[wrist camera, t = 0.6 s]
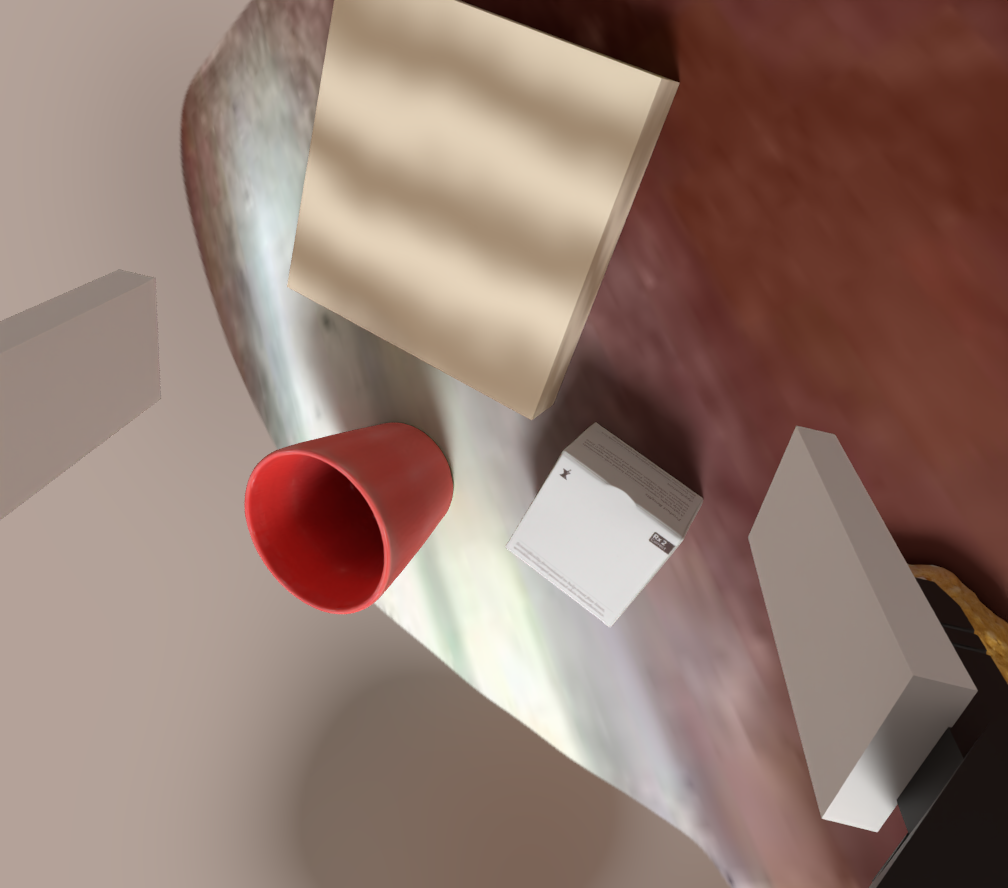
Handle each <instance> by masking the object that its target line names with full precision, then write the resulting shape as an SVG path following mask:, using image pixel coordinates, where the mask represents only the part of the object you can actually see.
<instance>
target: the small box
mask: <svg viewBox="0 0 1008 888" xmlns="http://www.w3.org/2000/svg"><path fill="white" fill-rule="evenodd" d="M702 502H703V498H702V497H700V496H699V495H698V494H696V493H695V492H693V491H692V490H691V489H689V488H688V487H686V486H685V485H684V484H682V483H681V482H679V481H678V480H677V479H675V478H674V477H672V476H671V475H670V474H668V473H667V472H665V471H664V470H662V469H661V468H660V467H658V466H657V465H655V464H654V463H653V462H651V461H650V460H648V459H647V458H646V457H644V456H643V455H641V454H640V453H639V452H637V451H636V450H634V449H633V448H632V447H630V446H629V445H627V444H626V443H624V442H623V441H622V440H620V439H619V438H617V437H616V436H615V435H613V434H612V433H610V432H609V431H608V430H606V429H605V428H603V427H602V426H600V425H599V424H598V423H596V422H595V423H594V424H592V425H591V426H590V427H589V428H588V429H586V430H585V431H584V432H583V433H582V434H581V435H580V436H579V437H578V438H577V439H576V440H574V441H573V442H572V443H571V444H570V445H569V446H568V447H566V448H565V449H564V450H563V451H562V453H561V455H560V456H559V458H558V460H557V462H556V463H555V465H554V466H553V468H552V470H551V471H550V473H549V475H548V477H547V478H546V480H545V482H544V483H543V485H542V487H541V488H540V490H539V492H538V493H537V495H536V497H535V498H534V500H533V502H532V503H531V505H530V506H529V508H528V510H527V512H526V513H525V515H524V517H523V518H522V520H521V522H520V523H519V525H518V527H517V528H516V530H515V532H514V533H513V535H512V536H511V538H510V540H509V541H508V543H507V544H506V546H505V547H506V548H507V549H508V550H509V551H510V552H512V553H513V554H514V555H516V556H517V557H518V558H520V559H521V560H522V561H524V562H525V563H526V564H527V565H529V566H530V567H531V568H533V569H534V570H535V571H537V572H538V573H539V574H541V575H542V576H543V577H545V578H546V579H547V580H549V581H550V582H551V583H552V584H554V585H555V586H556V587H558V588H559V589H560V590H562V591H563V592H564V593H566V594H567V595H568V596H570V597H571V598H572V599H573V600H575V601H576V602H577V603H579V604H580V605H581V606H583V607H584V608H585V609H587V610H588V611H589V612H590V613H592V614H593V615H594V616H596V617H597V618H598V619H599V620H601V621H602V622H603V623H605V624H606V625H607V626H608V627H611V626H612V625H613V624H614V623H615V622H616V620H617V619H618V618H619V617H620V616H621V614H622V613H623V612H624V611H625V610H626V609H627V607H628V606H629V605H630V604H631V603H632V602H633V600H634V599H635V598H636V597H637V596H638V594H639V593H640V592H641V591H642V590H643V588H644V587H645V586H646V585H647V584H648V583H649V581H650V580H651V579H652V578H653V576H654V575H655V574H656V573H657V572H658V570H659V569H660V568H661V567H662V566H663V564H664V563H665V562H666V561H667V560H668V558H669V557H670V556H671V555H672V553H673V552H674V551H675V550H676V548H677V547H678V546H679V545H680V544H681V542H682V541H683V540H684V537H685V535H686V533H687V531H688V529H689V527H690V525H691V523H692V521H693V520H694V518H695V516H696V514H697V512H698V510H699V509H700V507H701V505H702Z"/></svg>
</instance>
